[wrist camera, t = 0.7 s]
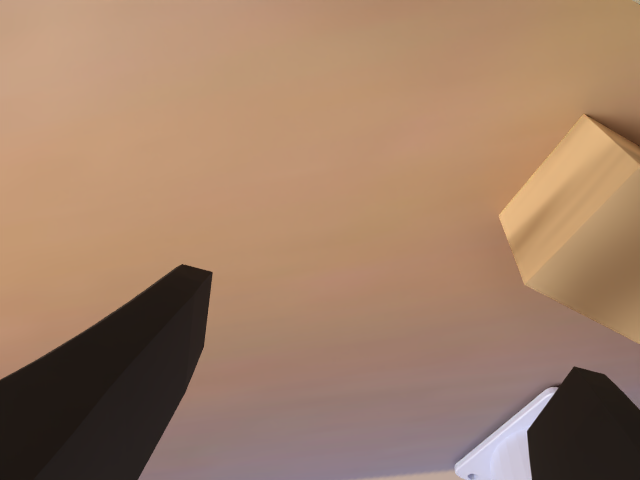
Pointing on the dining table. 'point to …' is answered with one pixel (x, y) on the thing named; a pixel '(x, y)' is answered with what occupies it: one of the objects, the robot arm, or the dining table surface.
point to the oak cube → (583, 227)
